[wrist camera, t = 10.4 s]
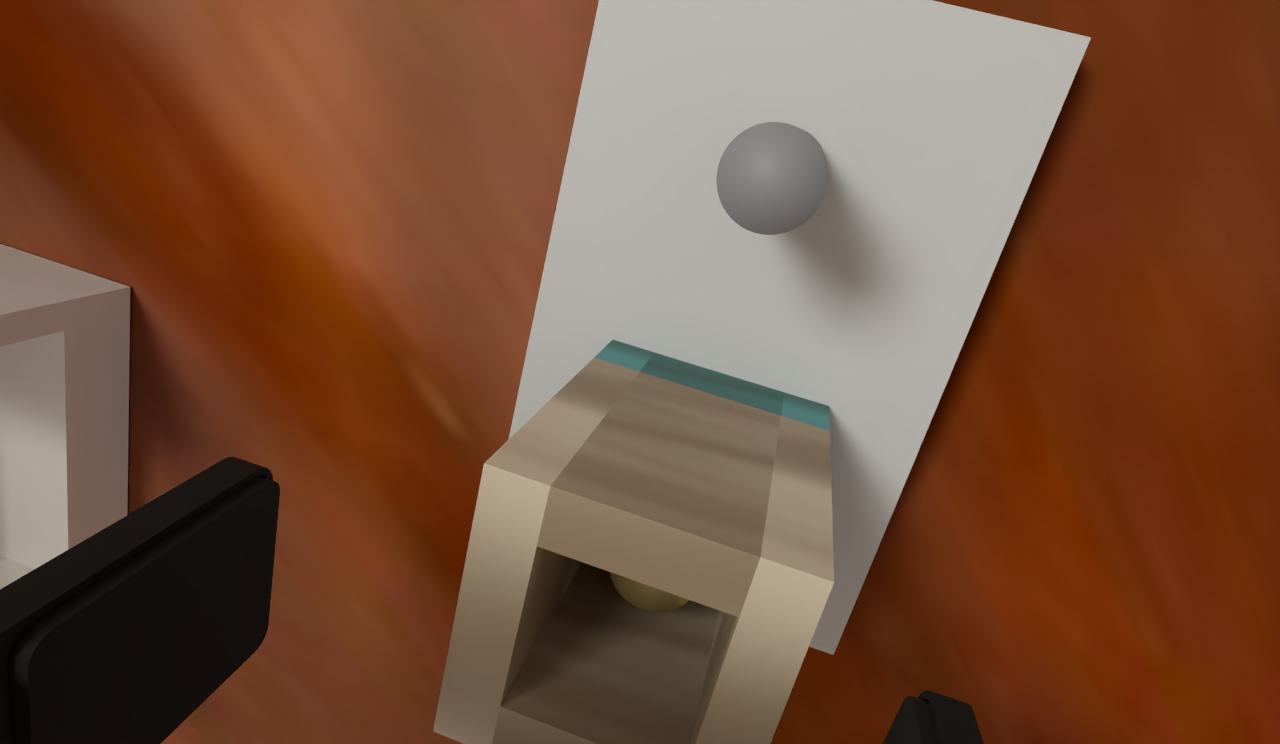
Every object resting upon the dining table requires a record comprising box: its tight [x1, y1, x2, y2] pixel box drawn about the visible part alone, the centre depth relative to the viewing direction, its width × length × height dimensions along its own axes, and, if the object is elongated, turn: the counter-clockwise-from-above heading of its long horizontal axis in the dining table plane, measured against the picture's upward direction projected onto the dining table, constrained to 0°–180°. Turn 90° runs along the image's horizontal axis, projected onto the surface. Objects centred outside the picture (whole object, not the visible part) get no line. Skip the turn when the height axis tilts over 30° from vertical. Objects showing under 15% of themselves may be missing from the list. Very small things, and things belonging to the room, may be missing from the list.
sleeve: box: [433, 340, 834, 744], centre depth 14 cm, size 5×5×7 cm
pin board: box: [509, 0, 1091, 655], centre depth 15 cm, size 9×14×6 cm, turn 166°
